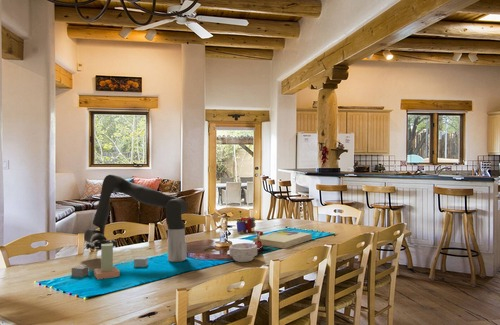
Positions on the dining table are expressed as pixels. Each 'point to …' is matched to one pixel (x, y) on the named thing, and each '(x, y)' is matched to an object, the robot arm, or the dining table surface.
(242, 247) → the paper bowls
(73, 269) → the grey rectangular block
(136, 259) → the light gray block
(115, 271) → the terracotta base brick
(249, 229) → the robot toy
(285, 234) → the puzzle box
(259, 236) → the toy fire truck
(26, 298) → the dining table surface
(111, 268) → the sage tower brick
